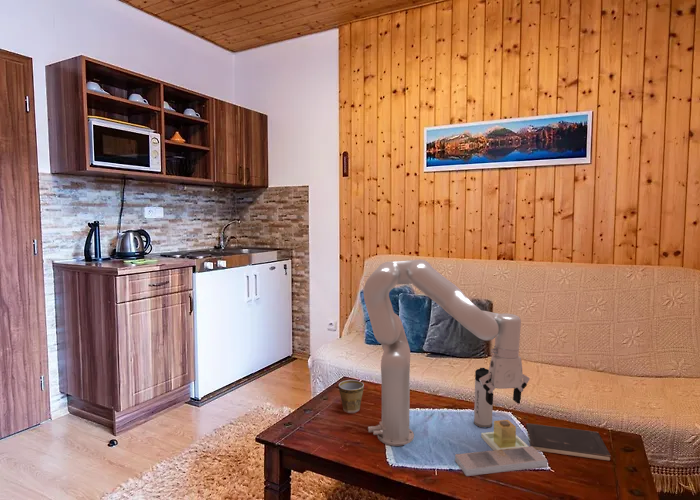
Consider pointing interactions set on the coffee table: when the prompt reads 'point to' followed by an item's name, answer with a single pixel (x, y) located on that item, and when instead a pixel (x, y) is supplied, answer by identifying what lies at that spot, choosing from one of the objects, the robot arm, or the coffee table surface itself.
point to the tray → (489, 439)
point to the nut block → (504, 433)
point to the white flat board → (500, 460)
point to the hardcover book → (567, 441)
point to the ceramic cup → (351, 395)
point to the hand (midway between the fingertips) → (502, 402)
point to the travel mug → (482, 402)
